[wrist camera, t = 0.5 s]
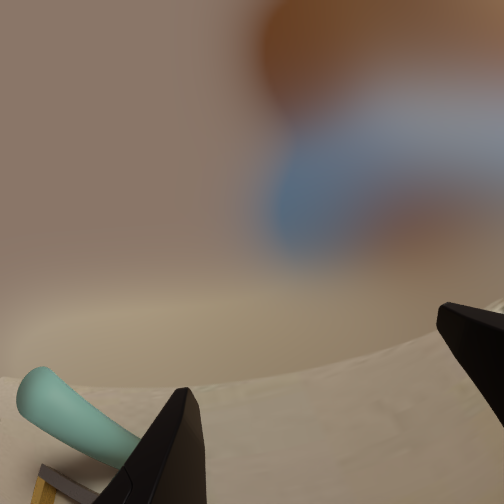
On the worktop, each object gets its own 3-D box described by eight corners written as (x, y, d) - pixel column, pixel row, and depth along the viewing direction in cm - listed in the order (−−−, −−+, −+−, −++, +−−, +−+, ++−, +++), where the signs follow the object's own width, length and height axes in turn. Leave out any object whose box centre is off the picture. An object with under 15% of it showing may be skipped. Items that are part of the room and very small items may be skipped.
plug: (147, 479, 17) (41, 428, 9) (112, 467, 18) (9, 407, 10) (156, 443, 20) (65, 373, 13) (122, 434, 21) (31, 361, 13)
